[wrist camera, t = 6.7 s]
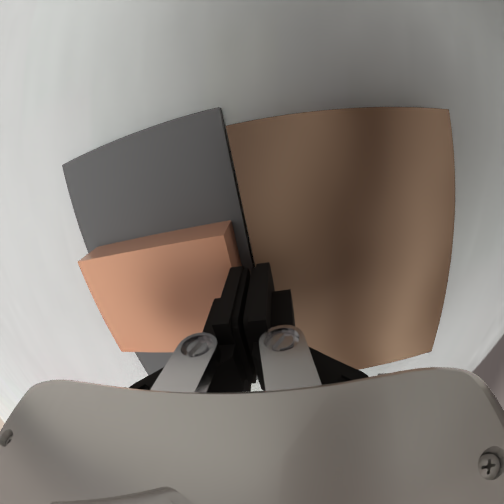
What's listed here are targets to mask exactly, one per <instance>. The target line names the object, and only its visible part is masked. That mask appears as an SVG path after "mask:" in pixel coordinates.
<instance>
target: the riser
mask: <svg viewBox="0 0 504 504" xmlns="http://www.w3.org/2000/svg"><path fill="white" fill-rule="evenodd" d="M226 130H227V135H228V139H229V144H230V149H231V154H232V158H233V163H234V168H235V173H236V177H237V182H238V187H239V192H240V196H241V201H242V206H243V211H244V216H245V220H246V225H247V230H248V235H249V239H250V244H251V249H252V254H253V258H254V263H255V267H256V264H259V263H266V262H269V263H270V267H271V272H272V277H273V283H274V289H275V291H281V290H288V289H291V295H292V302H293V309H294V318H295V327H298V328H299V329H300V330H302V332H303V333H304V336H305V339H306V341H307V344H308V346H309V347H311V348H313V349H315V350H317V351H319V352H321V353H323V354H325V355H327V356H329V357H331V358H333V359H336V360H338V361H340V362H342V363H344V364H346V365H348V366H351V367H353V368H355V369H357V370H359V369H364V368H368V367H373V366H378V365H382V364H386V363H391V362H395V361H399V360H403V359H406V358H410V357H414V356H417V355H421V354H424V353H427V352H431V351H432V347H433V344H434V340H435V337H436V333H437V329H438V325H439V321H440V317H441V313H442V308H443V303H444V298H445V293H446V288H447V282H448V276H449V269H450V262H451V254H452V244H453V233H454V216H455V166H454V150H453V139H452V129H451V122H450V114H449V109H437V108H418V107H366V108H346V109H333V110H322V111H312V112H303V113H296V114H288V115H281V116H275V117H269V118H263V119H257V120H252V121H247V122H242V123H237V124H232V125H227V126H226Z"/></svg>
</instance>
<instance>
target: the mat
mask: <svg viewBox="0 0 504 504" xmlns="http://www.w3.org/2000/svg"><path fill="white" fill-rule="evenodd" d="M62 167H63V171H64V175H65V179H66V183H67V187H68V191H69V195H70V198H71V202H72V205H73V209H74V212H75V215H76V218H77V221H78V225H79V228H80V231H81V234H82V236H83V239H84V242H85V245H86V248H87V250H88V253H90V252H91V251H92V250H94V249H95V248H96V247H99V246H103V245H108V244H112V243H117V242H121V241H126V240H131V239H135V238H140V237H145V236H150V235H155V234H160V233H165V232H170V231H175V230H180V229H185V228H190V227H196V226H201V225H206V224H212V223H217V222H223V221H229V220H231V221H232V226H233V230H234V234H235V239H236V243H237V247H238V252H239V256H240V260H241V264H242V266H244V268H245V269H249V271H250V275H251V270H252V268H254V264H253V259H252V255H251V250H250V245H249V241H248V236H247V231H246V226H245V222H244V217H243V212H242V207H241V203H240V198H239V193H238V188H237V184H236V179H235V174H234V169H233V165H232V160H231V155H230V150H229V146H228V141H227V136H226V131H225V127H224V122H223V117H222V112H221V108H219V107H218V108H214V109H210V110H206V111H202V112H198V113H195V114H191V115H187V116H184V117H181V118H177V119H174V120H171V121H168V122H165V123H161V124H158V125H155V126H153V127H150V128H147V129H144V130H141V131H138V132H136V133H133V134H130V135H128V136H125V137H123V138H120V139H118V140H115V141H113V142H110V143H108V144H106V145H103V146H101V147H99V148H97V149H94V150H92V151H90V152H88V153H86V154H84V155H81V156H79V157H77V158H75V159H73V160H71V161H69V162H67V163H65V164H63V165H62ZM135 353H136V355H137V357H138V358H139V360H140V362H141V363H142V365H143V367H144V368H145V370H146V372H147V373H148V375H151V374H152V373H154V372H156V371H158V370H159V369H161V368H163V367H165V365H166V364H167V362H168V360H169V359H170V357H171V356H172V354H173V352H135ZM256 380H258V377H256Z"/></svg>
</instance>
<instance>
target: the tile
mask: <svg viewBox="0 0 504 504" xmlns="http://www.w3.org/2000/svg"><path fill="white" fill-rule="evenodd" d="M78 264H79V267H80V269H81V271H82V274H83V276H84V278H85V281H86V283H87V285H88V287H89V290H90V292H91V294H92V296H93V298H94V300H95V303H96V305H97V307H98V309H99V311H100V313H101V315H102V317H103V319H104V321H105V322H106V324H107V326H108V328H109V330H110V332H111V334H112V335H113V337H114V339H115V341H116V343H117V344H118V346H119V348H120V350H121V351H122V352H174V351H175V349H176V348H177V346H178V344H179V343H180V342H181V341H182V340H183V339H184V338H186V337H187V336H190V335H192V334H195V333H202V332H203V329H204V326H205V323H206V320H207V317H208V315H209V312H210V309H211V306H212V303H213V301H214V299H215V298H220V297H221V294H222V291H223V288H224V285H225V282H226V279H227V276H228V273H229V270H230V268H231V267H238V266H242V264H241V260H240V256H239V252H238V247H237V243H236V239H235V234H234V230H233V226H232V221H231V220H229V221H223V222H217V223H212V224H206V225H201V226H196V227H190V228H185V229H180V230H175V231H170V232H165V233H160V234H155V235H150V236H145V237H140V238H135V239H131V240H126V241H121V242H117V243H112V244H108V245H103V246H99V247H96V248H95V249H94V250H92V251H91V252H90V253H89V254H87V255H86V256H85V257H83V258H82V259H81V260H79V261H78Z"/></svg>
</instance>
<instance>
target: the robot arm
mask: <svg viewBox="0 0 504 504" xmlns="http://www.w3.org/2000/svg"><path fill="white" fill-rule="evenodd" d="M256 377H258V380H259V383H260V385H261V389H262V390H264V391H255V392H250V391H251V383H256ZM0 504H504V410H503V408H502V406H501V405H500V403H499V401H498V400H497V398H496V397H495V395H494V394H493V392H492V391H491V390H490V388H489V387H488V386H487V385H486V383H485V382H484V381H483V380H482V379H481V378H479V377H478V376H477V375H475V374H474V373H472V372H469V371H467V370H463V369H458V368H449V367H431V368H418V369H411V370H405V371H398V372H394V373H385V374H378V376H373V377H368V375H366V374H365V373H363V372H362V371H359V370H357V369H355V368H353V367H351V366H348V365H346V364H344V363H342V362H340V361H338V360H336V359H333V358H331V357H329V356H327V355H325V354H323V353H321V352H319V351H317V350H315V349H313V348H311V347H309V346H308V344H307V341H306V339H305V336H304V333H303V332H302V330H300V329H299V328H298V327H295V318H294V309H293V302H292V295H291V289H288V290H281V291H275V289H274V283H273V277H272V272H271V267H270V263H269V262H266V263H259V264H256V267H255V268H252V270H251V275H250V271H249V269H245V268H244V266H238V267H231V268H230V270H229V273H228V276H227V279H226V282H225V285H224V288H223V291H222V294H221V297H220V298H215V299H214V301H213V303H212V306H211V309H210V312H209V315H208V317H207V320H206V323H205V326H204V329H203V332H202V333H195V334H192V335H190V336H187V337H186V338H184V339H183V340H182V341H181V342H180V343H179V344H178V346H177V348H176V349H175V351H174V352H173V354H172V356H171V357H170V359H169V360H168V362H167V364H166V365H165V367H163V368H161V369H159V370H158V371H156V372H154V373H152V374H151V375H149V376H147V377H145V378H144V379H142V380H140V381H138V382H136V383H135V384H133V385H132V386H130V387H129V388H126V387H116V386H108V385H101V384H94V383H87V382H79V381H73V380H50V381H45V382H41V383H38V384H36V385H34V386H32V387H31V388H30V389H29V390H28V391H27V392H26V394H25V395H24V396H23V397H22V399H21V400H20V401H19V403H18V404H17V406H16V407H15V408H14V410H13V411H12V413H11V415H10V416H9V418H8V419H7V421H6V423H5V424H4V426H3V428H2V429H1V431H0Z"/></svg>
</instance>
